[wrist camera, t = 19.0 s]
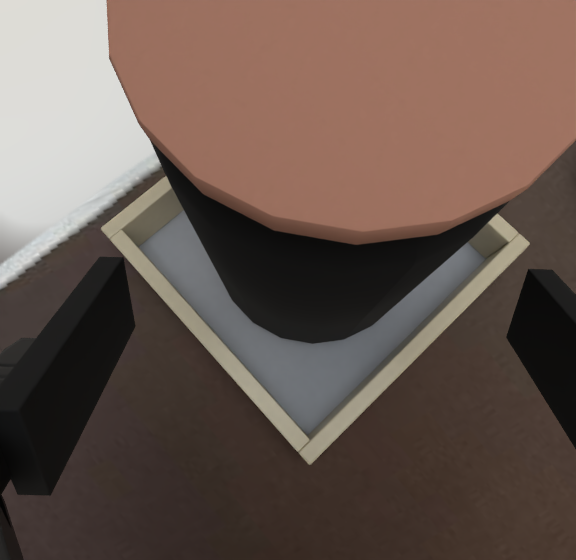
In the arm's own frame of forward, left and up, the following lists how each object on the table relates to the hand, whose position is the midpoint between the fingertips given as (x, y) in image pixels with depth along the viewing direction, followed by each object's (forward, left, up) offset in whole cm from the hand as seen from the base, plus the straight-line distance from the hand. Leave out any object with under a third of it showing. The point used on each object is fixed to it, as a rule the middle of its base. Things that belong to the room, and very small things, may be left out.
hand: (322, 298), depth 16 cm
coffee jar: (-1, +5, -11) cm, 12 cm away
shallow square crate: (-1, +5, -12) cm, 13 cm away
